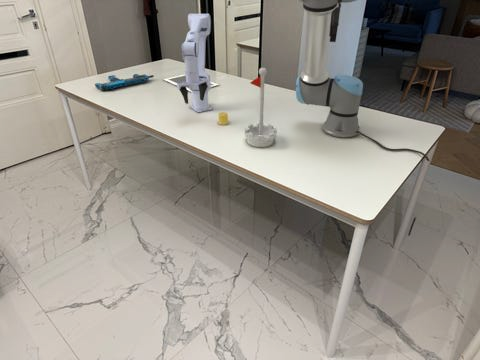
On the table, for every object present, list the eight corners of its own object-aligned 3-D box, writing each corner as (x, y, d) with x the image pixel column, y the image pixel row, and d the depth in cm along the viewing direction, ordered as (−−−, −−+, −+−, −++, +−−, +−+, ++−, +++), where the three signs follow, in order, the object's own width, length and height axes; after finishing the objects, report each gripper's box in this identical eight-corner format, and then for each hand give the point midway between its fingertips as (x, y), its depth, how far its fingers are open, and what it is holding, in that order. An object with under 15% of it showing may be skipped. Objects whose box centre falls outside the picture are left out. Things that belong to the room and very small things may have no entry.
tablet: (162, 79, 213) (162, 79, 213) (189, 73, 224) (189, 73, 224) (191, 92, 193) (191, 91, 192) (219, 85, 204) (219, 84, 203)
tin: (217, 124, 156) (217, 115, 153) (220, 120, 159) (220, 111, 157) (226, 125, 155) (226, 116, 152) (229, 121, 158) (228, 112, 156)
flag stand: (267, 132, 148) (271, 61, 132) (281, 144, 138) (286, 70, 122) (240, 137, 144) (240, 65, 128) (252, 150, 134) (253, 74, 118)
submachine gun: (139, 68, 225) (158, 74, 208) (140, 74, 226) (158, 80, 210) (87, 78, 206) (103, 86, 189) (89, 84, 208) (104, 92, 191)
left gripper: (180, 76, 141) (183, 107, 148) (211, 71, 147) (212, 101, 155) (173, 72, 146) (176, 102, 153) (203, 67, 152) (205, 96, 160)
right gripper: (328, -13, 165) (322, 34, 177) (331, -9, 145) (325, 44, 156) (344, -13, 164) (337, 34, 176) (349, -9, 144) (341, 44, 155)
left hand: (194, 101), depth 154 cm, fingers open, 7 cm apart
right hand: (331, 39), depth 166 cm, fingers open, 13 cm apart
